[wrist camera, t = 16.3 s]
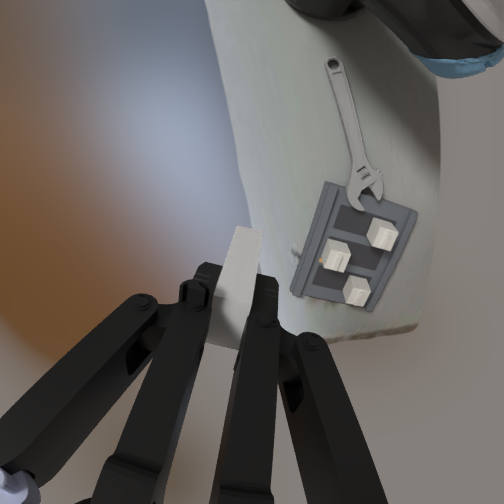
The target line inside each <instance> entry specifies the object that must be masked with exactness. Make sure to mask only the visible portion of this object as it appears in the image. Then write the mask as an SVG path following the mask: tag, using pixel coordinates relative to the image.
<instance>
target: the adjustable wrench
mask: <svg viewBox="0 0 504 504" xmlns="http://www.w3.org/2000/svg"><path fill="white" fill-rule="evenodd" d="M330 60H335V61H337V62H338V64H339V67H338V68H337V69H335V70H333V69H331V68H330V67H329V66H328V63H329V61H330ZM324 65H325V69H326V72H327V75H328V78H329V81H330V84H331V87H332V90H333V94H334V97H335V100H336V103H337V107H338V110H339V114H340V117H341V121H342V125H343V128H344V132H345V136H346V140H347V144H348V148H349V152H350V156H351V168H350V174H349V178H348V182H347V185H346V190H345V192H346V198H347V199H348V201H349V203H350V204H351V205H352V206H353V207H354V208H356V209H357V210H360V211H364V208H363V206H362V205H361V203H360V202H359V200H358V197H359V195H360V193H361V191H362V190H363V189H365V188H366V187H369V188H370V190H371V192H372V193H373V195H374V197H375V198H376V199H377V200H378V201H379V200H380V199H381V197H382V193H383V183H382V179H381V177H382V176H383V175H382V174H381V173H380V171H379V169H376V170H374V169H373V168H372V167H371V166H370V164H369V163H368V161H367V159H366V156H365V152H364V147H363V142H362V137H361V132H360V128H359V123H358V119H357V115H356V111H355V107H354V103H353V99H352V95H351V91H350V87H349V84H348V80H347V77H346V73H345V70H344V67H343V63H342V61H341V60H340V59H339V58H338V57H335V56H331V57H329V58H328V59H327V60H326V61H325V64H324ZM363 166H364V168H363ZM360 168H362V169H360ZM359 169H360V171H359ZM357 170H358V172H357ZM365 176H366V177H365ZM363 177H364V178H363Z"/></svg>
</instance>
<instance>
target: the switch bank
mask: <svg viewBox="0 0 504 504" xmlns="http://www.w3.org/2000/svg"><path fill="white" fill-rule="evenodd" d="M345 190H346V187H344V186H340V185H337V184H334V183H330V182H327V181H325V183H324V186H323V190H322V193H321V196H320V199H319V202H318V205H317V209H316V212H315V215H314V218H313V221H312V224H311V227H310V230H309V233H308V236H307V239H306V242H305V245H304V248H303V251H302V254H301V257H300V260H299V263H298V266H297V269H296V271H295V274H294V277H293V280H292V283H291V286H290V292H292V295H293V296H298V297H299V296H300V294H303V295H307V296H312V297H317V298H321V299H326V300H331V301H335V302H340V303H345V304H348V303H346V302H345V298H344V294H343V288H344V286H345V284H346V282H347V279H348V277H349V275H352V276H356V277H360V278H364V279H367V282H368V285H369V287H370V290H371V292H370V294H369V296H368V298H367V300H366V302H365V304H364V306H360V307H364V308H365V311H370V312H371V311H372V309H373V307H374V306H375V304H376V302H377V300H378V298H379V296H380V294H381V292H382V291H383V289H384V287H385V285H386V283H387V281H388V279H389V277H390V275H391V273H392V271H393V269H394V267H395V265H396V263H397V261H398V259H399V256H400V254H401V252H402V250H403V248H404V246H405V243H406V241H407V239H408V237H409V235H410V232H411V230H412V228H413V225H414V223H415V221H416V218H417V216H418V212H417V211H415V210H413V209H410V208H407V207H404V206H402V205H399V204H396V203H393V202H390V201H387V200H384V199H380V200H379V201H378V200H377V199H376V198H375V197H374V196H372V195H369V194H366V193H363V192H361V193H360V195H359V197H358V200H359V202H360V203H361V205H362V206H363V208H364V211H360V210H357V209H356V208H354V207H353V206H352V205H351V204H350V203H349V201H348V199H347V198H346V192H345ZM373 217H375V218H378V219H381V220H384V221H388V222H391V223H392V224H393V226H394V227H395V228H396V230H397V231H398V232H399V233H398V235H397V237H396V240H395V242H394V244H393V247H392V249H391V251H388V250H384V249H381V248H377V247H373V246H372V245H371V243H370V241H369V240H368V238H367V236H366V235H367V233H368V230H369V228H370V225H371V222H372V220H373ZM327 239H332V240H336V241H340V242H343V243H347V245H348V248H349V250H350V253H351V256H350V258H349V261H348V263H347V266H346V268H345V270H344V273H343V272H339V271H334V270H331V269H326V268H324V266H323V262H322V257H321V255H322V253H323V250H324V247H325V245H326V242H327ZM350 305H353V304H350Z"/></svg>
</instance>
